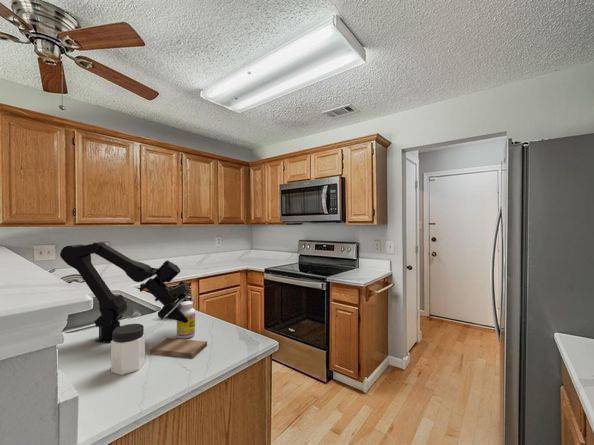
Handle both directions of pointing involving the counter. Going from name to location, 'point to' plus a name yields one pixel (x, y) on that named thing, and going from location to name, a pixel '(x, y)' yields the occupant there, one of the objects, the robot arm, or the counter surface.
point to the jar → (127, 349)
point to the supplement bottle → (187, 328)
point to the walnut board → (179, 347)
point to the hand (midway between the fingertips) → (189, 318)
